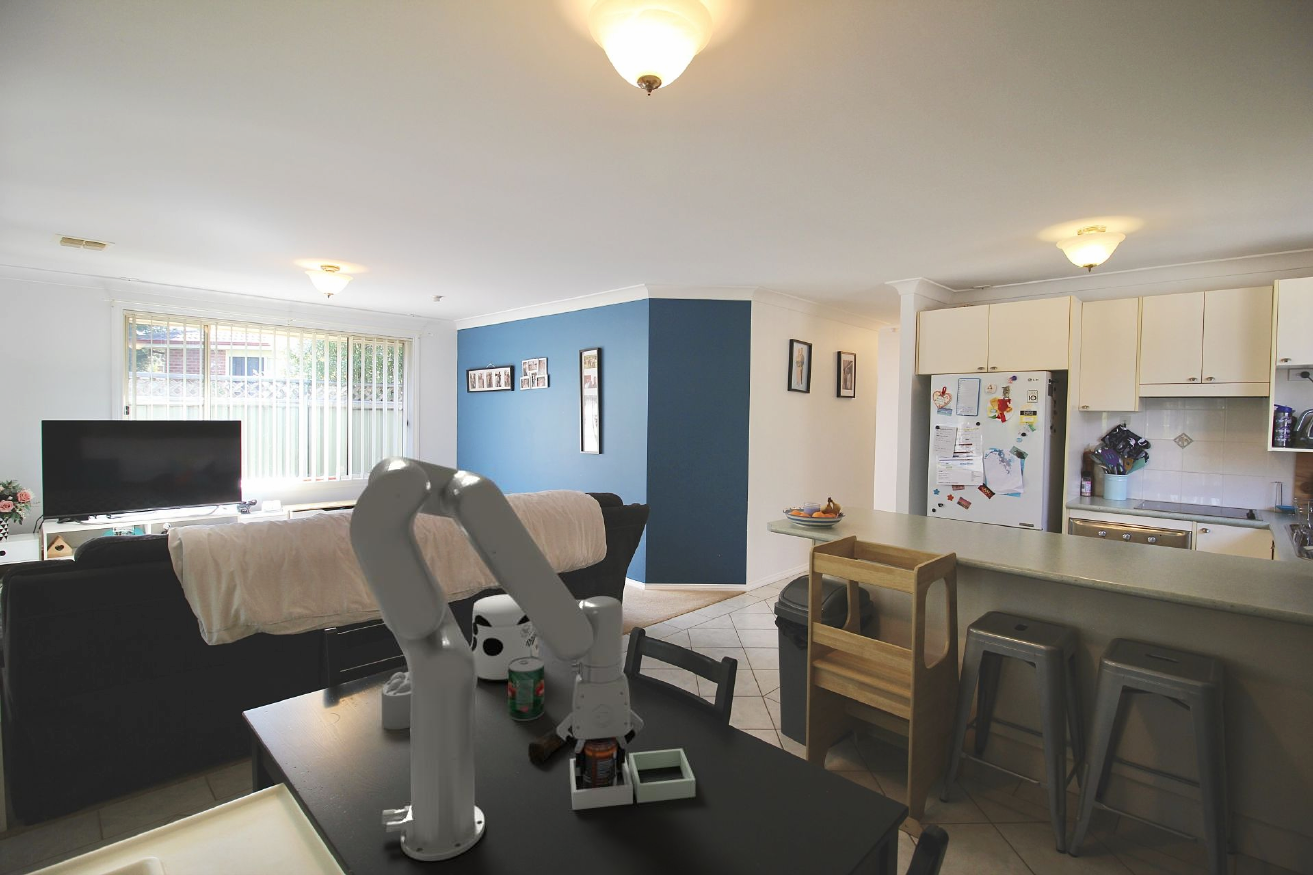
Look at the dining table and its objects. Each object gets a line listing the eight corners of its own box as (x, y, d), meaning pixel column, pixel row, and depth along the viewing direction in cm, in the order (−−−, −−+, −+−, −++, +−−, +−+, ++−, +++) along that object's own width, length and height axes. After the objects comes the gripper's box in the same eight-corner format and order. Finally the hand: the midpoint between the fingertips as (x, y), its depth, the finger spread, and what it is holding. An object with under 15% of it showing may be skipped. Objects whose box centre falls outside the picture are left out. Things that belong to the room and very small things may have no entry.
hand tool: (542, 767, 117) (543, 743, 117) (526, 760, 119) (527, 737, 119) (602, 724, 133) (602, 703, 133) (587, 719, 135) (587, 698, 135)
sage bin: (637, 802, 106) (637, 785, 106) (629, 768, 116) (629, 753, 116) (695, 796, 108) (695, 779, 108) (681, 763, 118) (682, 748, 118)
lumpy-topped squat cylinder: (449, 706, 140) (449, 668, 139) (406, 734, 128) (406, 692, 127) (413, 698, 144) (413, 661, 143) (368, 724, 132) (368, 684, 131)
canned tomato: (550, 714, 136) (550, 665, 136) (516, 724, 132) (516, 674, 131) (535, 700, 143) (535, 653, 142) (502, 709, 138) (502, 661, 138)
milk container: (552, 672, 158) (552, 603, 157) (492, 694, 146) (492, 619, 145) (514, 653, 170) (514, 589, 169) (455, 672, 158) (455, 602, 157)
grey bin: (572, 809, 104) (572, 792, 104) (569, 774, 114) (569, 758, 114) (632, 803, 106) (632, 786, 106) (624, 769, 116) (624, 753, 116)
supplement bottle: (623, 788, 110) (624, 726, 110) (598, 803, 106) (599, 738, 105) (601, 774, 114) (601, 714, 114) (576, 788, 110) (576, 726, 109)
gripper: (551, 681, 104) (551, 786, 104) (652, 674, 107) (651, 776, 108) (550, 663, 111) (550, 761, 112) (645, 657, 114) (644, 752, 115)
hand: (600, 767), depth 110 cm, fingers closed on supplement bottle, 6 cm apart
